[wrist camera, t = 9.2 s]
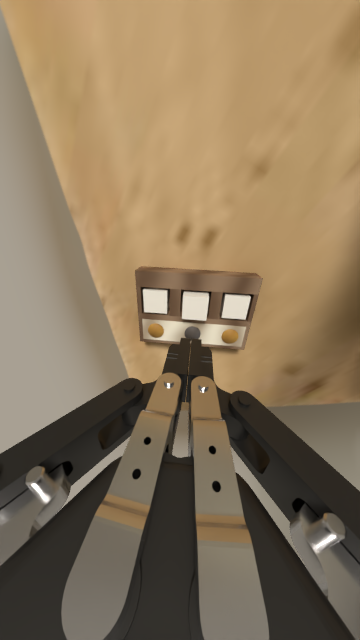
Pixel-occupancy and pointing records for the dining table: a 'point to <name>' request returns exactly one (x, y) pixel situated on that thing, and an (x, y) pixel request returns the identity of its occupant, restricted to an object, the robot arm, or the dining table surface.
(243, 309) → the key
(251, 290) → the button board
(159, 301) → the key
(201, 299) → the key middle
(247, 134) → the dining table surface
